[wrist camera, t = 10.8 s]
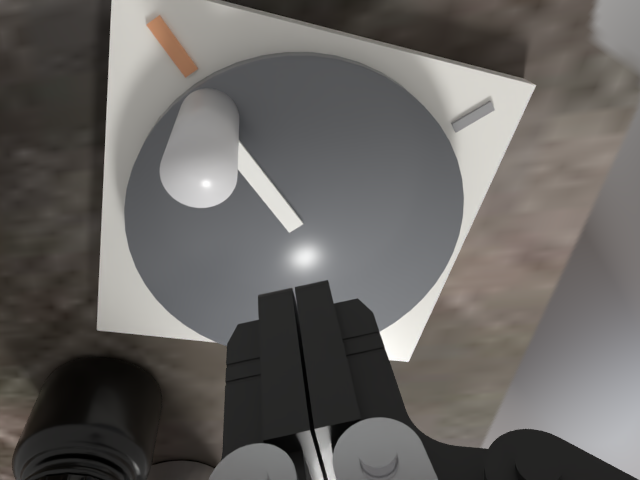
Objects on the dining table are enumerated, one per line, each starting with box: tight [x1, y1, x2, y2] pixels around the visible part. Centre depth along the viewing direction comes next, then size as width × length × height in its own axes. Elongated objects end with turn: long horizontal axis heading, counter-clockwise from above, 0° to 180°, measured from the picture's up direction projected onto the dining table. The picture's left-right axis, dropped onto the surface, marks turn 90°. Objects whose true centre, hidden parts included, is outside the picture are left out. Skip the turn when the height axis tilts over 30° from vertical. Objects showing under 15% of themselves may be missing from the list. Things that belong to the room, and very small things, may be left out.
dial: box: [124, 52, 464, 346], centre depth 28 cm, size 20×20×9 cm
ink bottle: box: [12, 357, 162, 480], centre depth 35 cm, size 10×9×12 cm
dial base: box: [97, 0, 536, 362], centre depth 32 cm, size 22×23×2 cm
